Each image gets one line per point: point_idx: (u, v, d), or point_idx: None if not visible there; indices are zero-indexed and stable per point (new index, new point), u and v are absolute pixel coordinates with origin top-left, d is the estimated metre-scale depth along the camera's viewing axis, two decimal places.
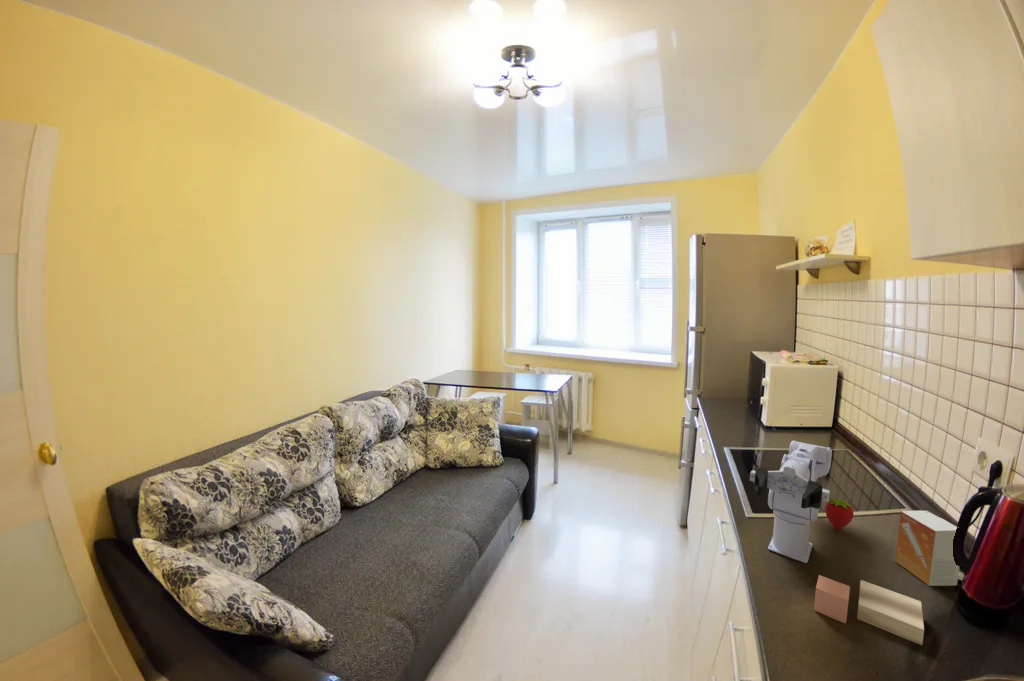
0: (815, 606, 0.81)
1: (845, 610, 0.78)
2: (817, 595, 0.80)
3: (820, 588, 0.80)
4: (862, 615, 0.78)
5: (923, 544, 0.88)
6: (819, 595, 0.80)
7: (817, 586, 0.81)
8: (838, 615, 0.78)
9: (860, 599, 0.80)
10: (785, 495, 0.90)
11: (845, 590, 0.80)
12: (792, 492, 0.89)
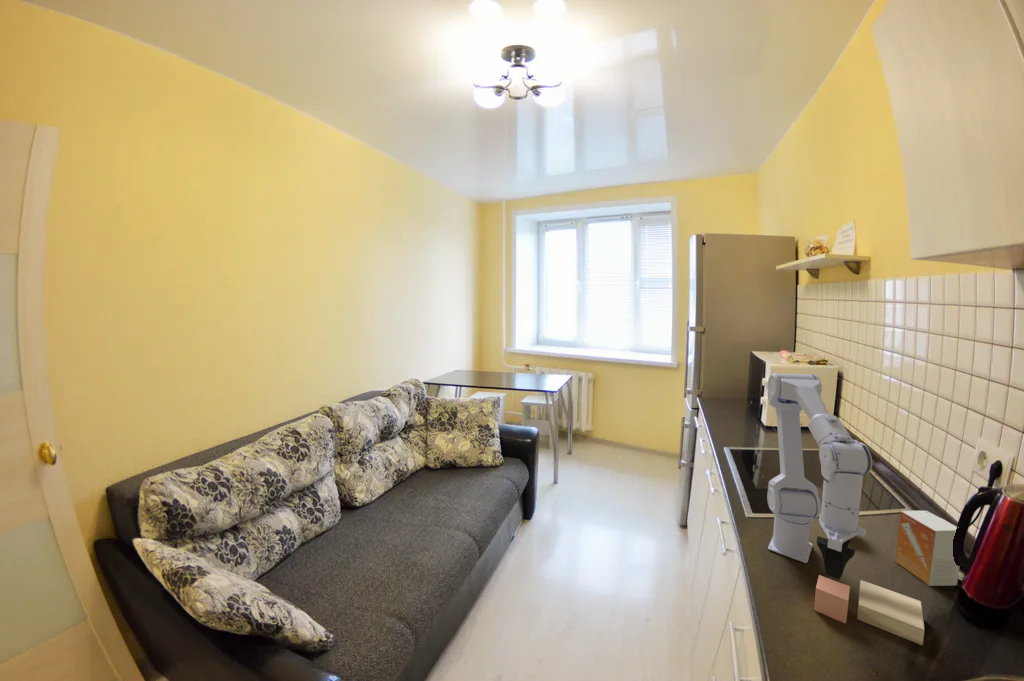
0: (815, 606, 0.81)
1: (845, 610, 0.78)
2: (817, 595, 0.80)
3: (820, 588, 0.80)
4: (862, 615, 0.78)
5: (923, 544, 0.88)
6: (819, 595, 0.80)
7: (817, 586, 0.81)
8: (838, 615, 0.78)
9: (860, 599, 0.80)
10: None
11: (845, 590, 0.80)
12: None
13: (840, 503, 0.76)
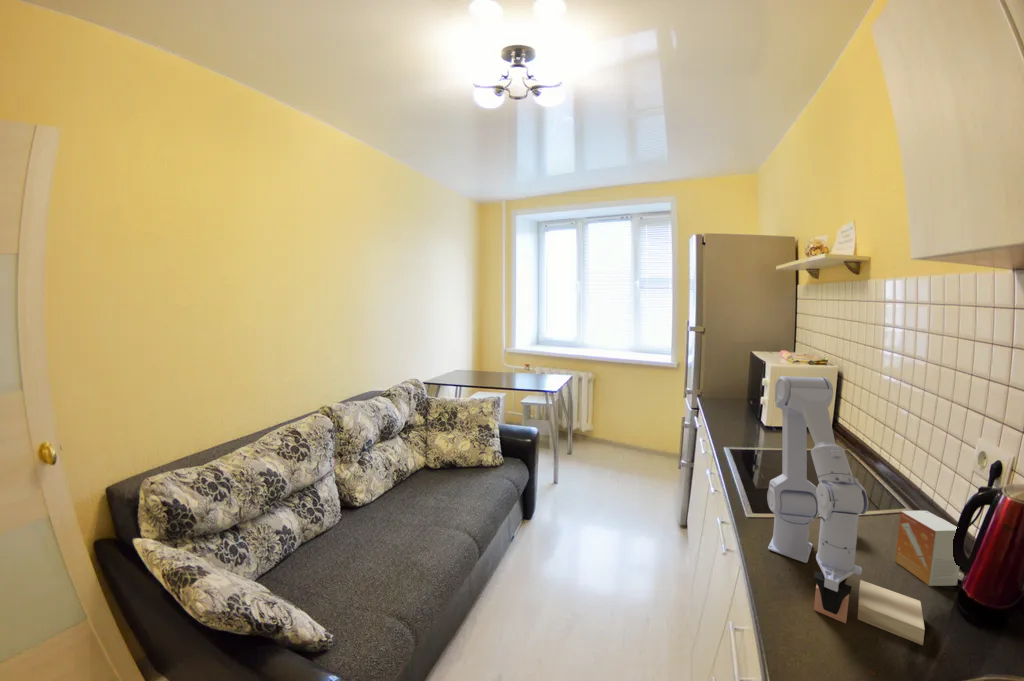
0: (815, 606, 0.81)
1: (845, 609, 0.77)
2: (817, 595, 0.80)
3: None
4: (863, 615, 0.78)
5: (923, 544, 0.88)
6: (819, 595, 0.80)
7: (817, 586, 0.81)
8: (838, 614, 0.78)
9: (860, 599, 0.80)
10: None
11: None
12: None
13: (837, 542, 0.77)
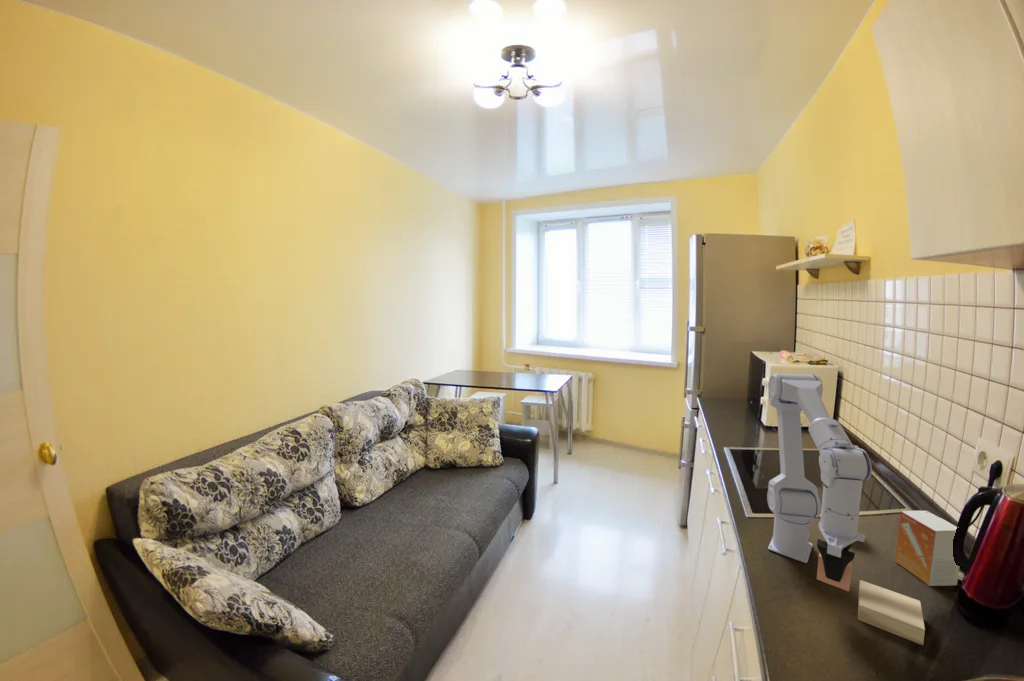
0: (818, 575, 0.80)
1: (848, 577, 0.77)
2: (820, 563, 0.80)
3: None
4: (863, 616, 0.78)
5: (923, 544, 0.88)
6: (822, 563, 0.79)
7: (820, 554, 0.80)
8: (841, 583, 0.78)
9: (860, 599, 0.80)
10: None
11: None
12: None
13: (840, 509, 0.76)
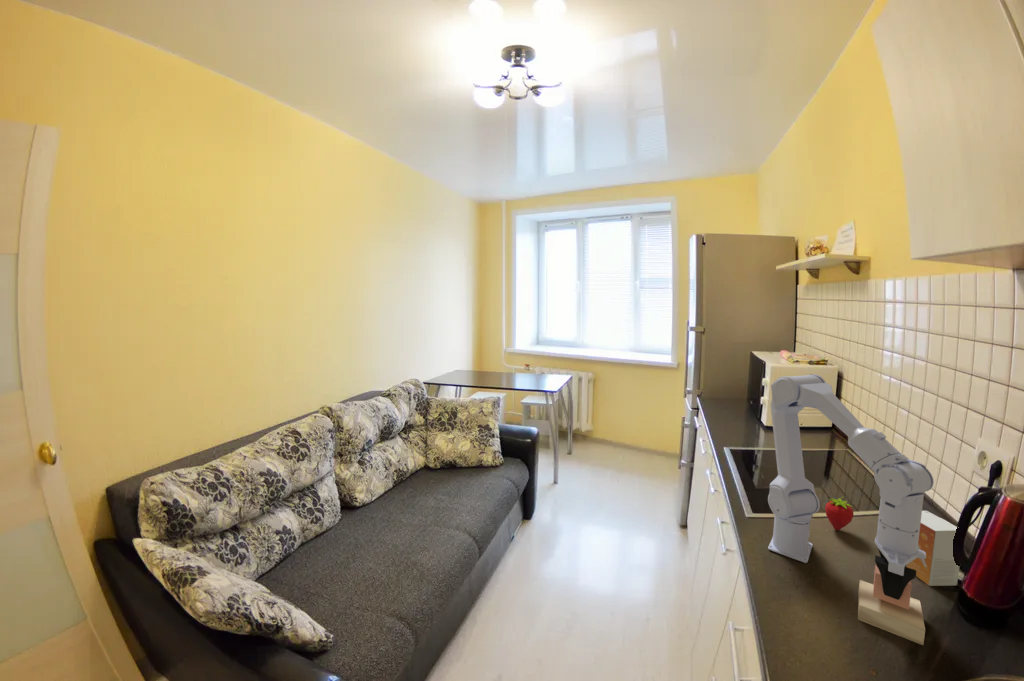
0: (874, 592, 0.78)
1: (908, 595, 0.75)
2: (877, 580, 0.78)
3: None
4: (863, 616, 0.78)
5: (923, 544, 0.88)
6: (879, 580, 0.78)
7: (876, 571, 0.78)
8: (900, 600, 0.76)
9: (861, 600, 0.79)
10: None
11: None
12: None
13: (909, 527, 0.74)
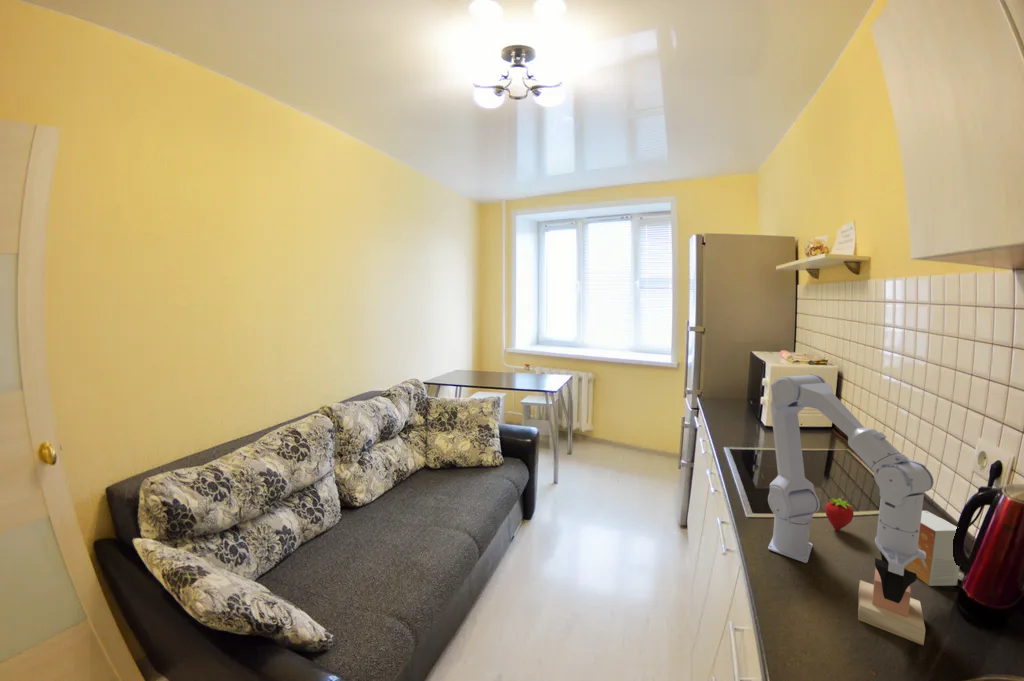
0: (874, 599, 0.78)
1: (907, 603, 0.75)
2: (876, 588, 0.78)
3: (879, 581, 0.78)
4: (863, 616, 0.78)
5: (923, 544, 0.88)
6: (878, 588, 0.78)
7: (876, 578, 0.78)
8: (899, 608, 0.76)
9: (861, 600, 0.79)
10: None
11: None
12: None
13: (909, 527, 0.74)
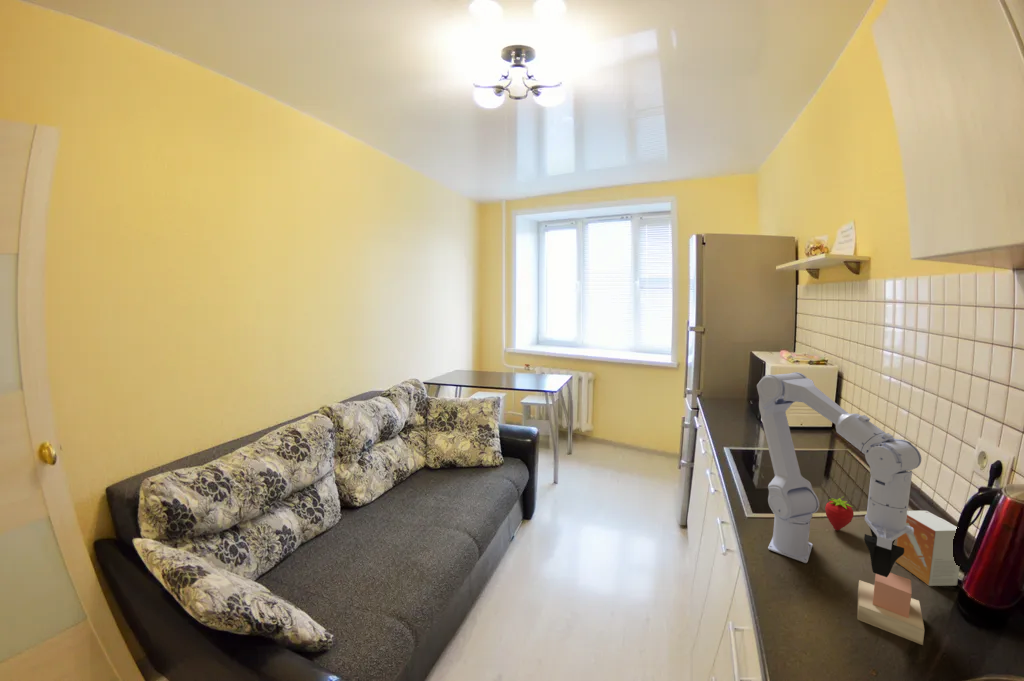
0: (874, 599, 0.78)
1: (908, 604, 0.75)
2: (877, 588, 0.78)
3: (880, 581, 0.78)
4: (862, 616, 0.78)
5: (923, 544, 0.88)
6: (879, 588, 0.78)
7: (876, 579, 0.78)
8: (900, 609, 0.76)
9: (860, 600, 0.80)
10: None
11: (906, 583, 0.77)
12: None
13: (899, 503, 0.76)
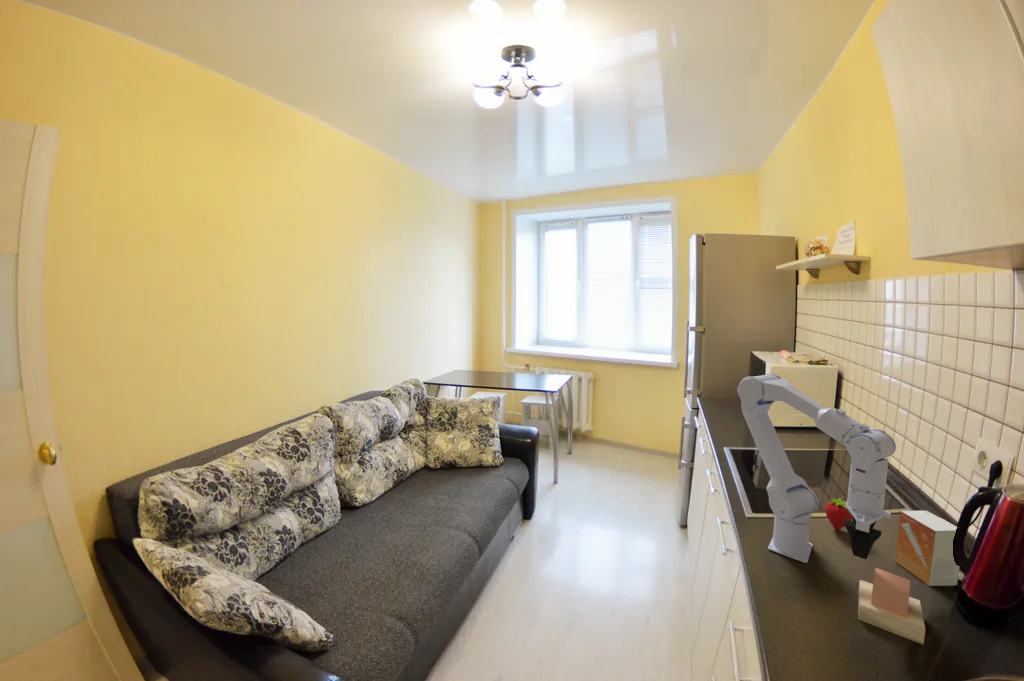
0: (872, 599, 0.78)
1: (906, 604, 0.75)
2: (875, 588, 0.78)
3: (878, 581, 0.78)
4: (863, 616, 0.78)
5: (923, 544, 0.88)
6: (877, 588, 0.78)
7: (875, 578, 0.78)
8: (898, 609, 0.76)
9: (861, 599, 0.80)
10: None
11: (905, 583, 0.77)
12: None
13: (878, 489, 0.81)
